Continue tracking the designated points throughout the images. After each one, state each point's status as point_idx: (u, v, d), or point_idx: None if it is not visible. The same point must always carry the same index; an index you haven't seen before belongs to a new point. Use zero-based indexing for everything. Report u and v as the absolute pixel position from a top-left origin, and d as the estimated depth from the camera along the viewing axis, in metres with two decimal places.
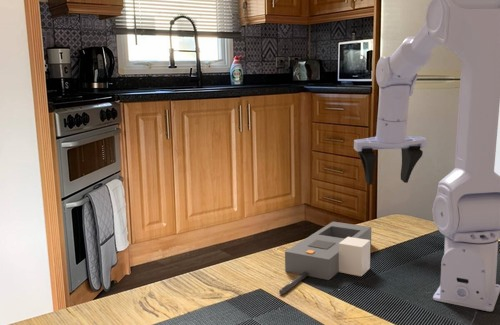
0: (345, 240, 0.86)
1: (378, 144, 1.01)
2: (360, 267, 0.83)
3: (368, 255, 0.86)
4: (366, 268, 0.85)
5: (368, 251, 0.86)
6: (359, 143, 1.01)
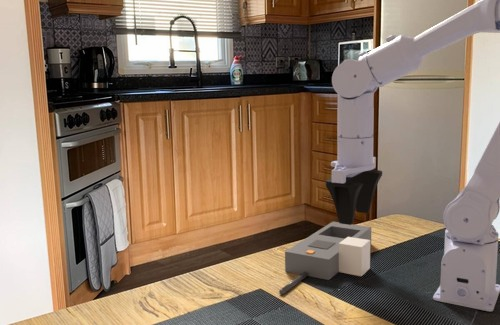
0: (345, 240, 0.86)
1: (359, 169, 0.79)
2: (360, 267, 0.83)
3: (368, 255, 0.86)
4: (366, 268, 0.85)
5: (368, 251, 0.86)
6: (344, 172, 0.77)
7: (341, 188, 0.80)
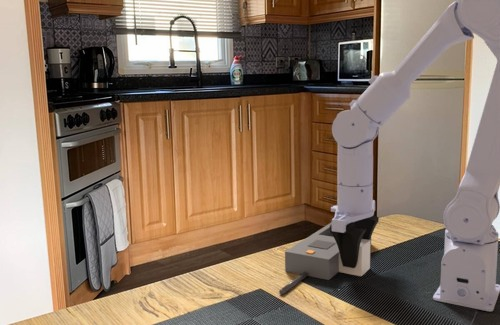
0: None
1: (359, 217, 0.81)
2: (360, 267, 0.83)
3: (368, 255, 0.86)
4: (366, 268, 0.85)
5: (368, 251, 0.86)
6: (344, 221, 0.78)
7: (345, 233, 0.83)
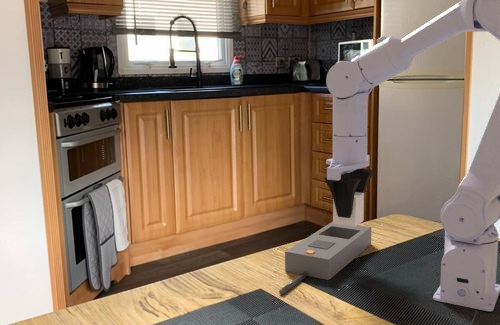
0: None
1: (354, 166, 0.82)
2: (354, 218, 0.85)
3: (361, 207, 0.87)
4: (360, 220, 0.87)
5: (362, 203, 0.87)
6: (339, 169, 0.80)
7: (340, 183, 0.85)
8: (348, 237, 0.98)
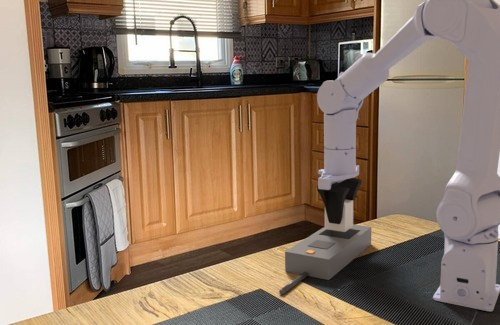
0: None
1: (343, 177, 0.90)
2: (343, 223, 0.93)
3: (351, 214, 0.95)
4: (349, 225, 0.94)
5: (351, 210, 0.95)
6: (329, 180, 0.87)
7: (330, 192, 0.92)
8: (348, 237, 0.98)
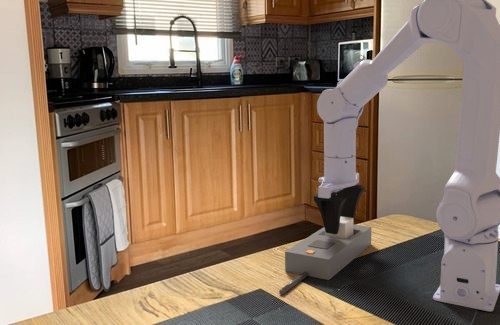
0: None
1: (343, 185, 0.90)
2: None
3: (351, 232, 0.95)
4: None
5: (351, 228, 0.95)
6: (329, 188, 0.88)
7: (327, 202, 0.91)
8: None
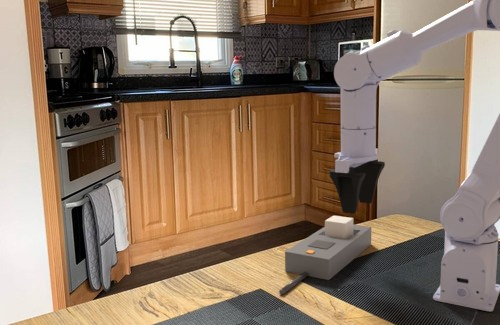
0: (330, 218, 0.96)
1: (362, 159, 0.82)
2: None
3: (351, 232, 0.95)
4: None
5: (351, 228, 0.95)
6: (348, 162, 0.79)
7: (344, 178, 0.83)
8: None
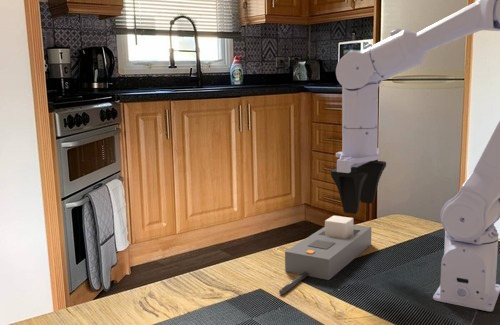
0: (330, 218, 0.96)
1: (364, 159, 0.81)
2: None
3: (351, 232, 0.95)
4: None
5: (351, 228, 0.95)
6: (349, 161, 0.78)
7: (346, 178, 0.82)
8: None
